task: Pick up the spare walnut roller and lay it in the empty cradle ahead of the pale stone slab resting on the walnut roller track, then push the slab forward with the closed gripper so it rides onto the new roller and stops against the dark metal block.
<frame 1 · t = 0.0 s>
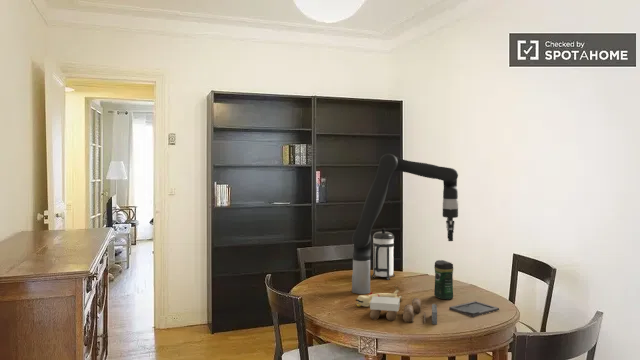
hand: (450, 239, 225), 29 cm above the table, fingers open, 8 cm apart
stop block: (434, 319, 191), on the table
slab: (385, 306, 196), point 4 cm above the table, touching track
coffee press: (383, 278, 268), on the table
coffee jar: (443, 297, 226), on the table
cat figure: (378, 304, 215), on the table
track: (394, 316, 195), on the table
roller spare: (416, 309, 206), on the table
picture frame: (474, 311, 206), on the table
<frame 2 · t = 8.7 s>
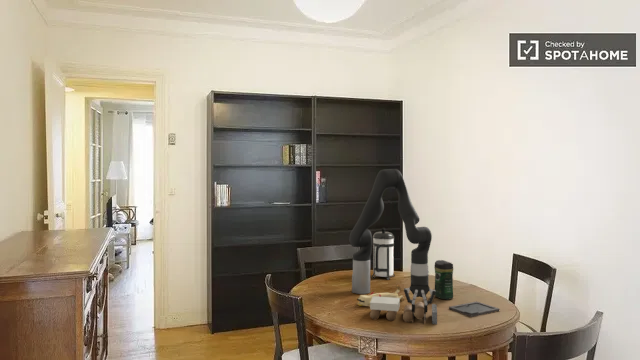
hand: (419, 312, 193), 3 cm above the table, fingers closed on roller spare, 4 cm apart
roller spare: (419, 314, 193), point 2 cm above the table, touching gripper
when the fingers open (2 cm above the table, at t = 9.5 s): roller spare drops 1 cm, resting on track.
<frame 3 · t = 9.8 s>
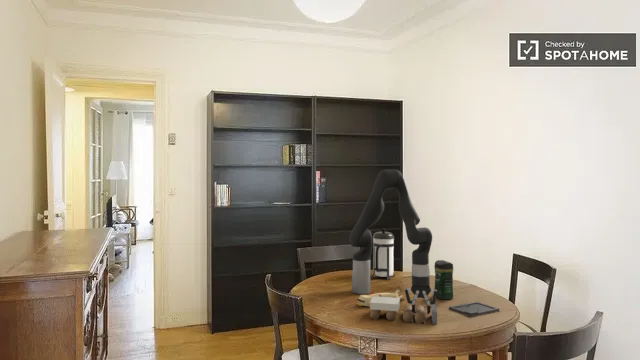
hand: (421, 313, 193), 2 cm above the table, fingers open, 5 cm apart
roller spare: (420, 318, 193), on the table, tilted 10°, touching gripper, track
everything else where it was.
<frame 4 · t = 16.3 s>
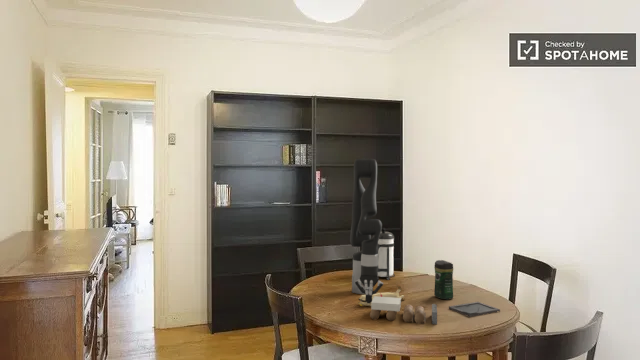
hand: (368, 302, 198), 5 cm above the table, fingers closed
slab: (386, 307, 196), point 4 cm above the table
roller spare: (420, 319, 193), on the table, tilted 15°
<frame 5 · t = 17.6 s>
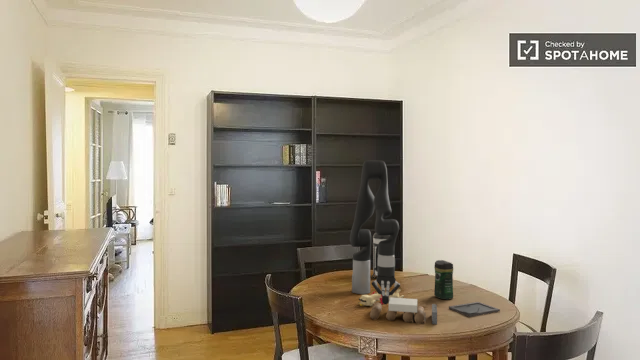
hand: (385, 303, 196), 5 cm above the table, fingers closed
slab: (403, 308, 194), point 4 cm above the table, touching gripper, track
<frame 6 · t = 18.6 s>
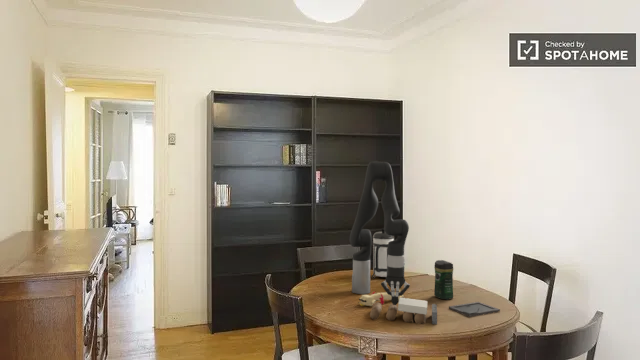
hand: (394, 304, 195), 5 cm above the table, fingers closed
slab: (412, 309, 194), point 4 cm above the table, touching gripper, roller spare, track
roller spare: (420, 319, 193), on the table, tilted 14°, touching slab
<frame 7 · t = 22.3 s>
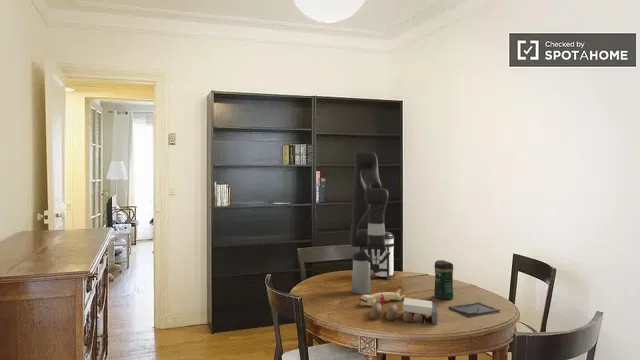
hand: (376, 272, 197), 19 cm above the table, fingers closed
slab: (417, 309, 193), point 4 cm above the table, touching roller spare
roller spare: (415, 317, 194), on the table, tilted 41°, touching slab
at the end: slab inside the target area (0.3 cm from its centre), point 3.8 cm above the table; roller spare inside the target area on the slab (2.2 cm from its centre), point -3.5 cm above the slab's base; slab tilted 3° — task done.
